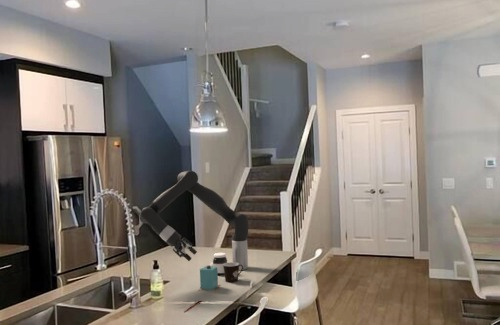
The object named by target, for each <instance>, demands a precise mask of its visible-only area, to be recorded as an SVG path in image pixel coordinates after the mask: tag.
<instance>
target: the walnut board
mask: <svg viewBox="0 0 500 325" xmlns="http://www.w3.org/2000/svg"><path fill="white" fill-rule="evenodd" d="M221 286H222V284H218V287H216V288H215V289H214V290H203V289H201V286H200V287H199V288H198V289H197V292H218V291H219V289H220V287H221Z"/></svg>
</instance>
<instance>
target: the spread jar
mask: <svg viewBox="0 0 500 325" xmlns="http://www.w3.org/2000/svg"><path fill="white" fill-rule="evenodd" d="M226 255H227V254H226V253H225V252H216V253H214V254H213V259H212V261H211V262H210V263H209V265H210V266H211V267H217V272H218V276H225V274H224V268H223V264H225V263H228V259H227V257H226Z"/></svg>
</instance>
